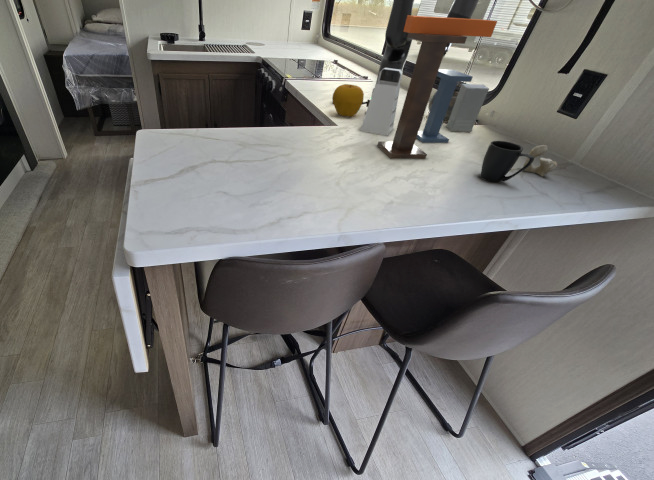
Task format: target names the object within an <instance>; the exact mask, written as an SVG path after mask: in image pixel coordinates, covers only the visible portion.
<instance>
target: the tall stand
mask: <svg viewBox="0 0 654 480" xmlns="http://www.w3.org/2000/svg"><path fill="white" fill-rule="evenodd" d="M407 38H411V39H412V40H414V41H419V42H421V43H420V46H419V50H418V53H417V57H416V60H415V63H414V67H413V72H412V75H411V78H410V80H409V81H410V82H409V85H408V88H407V91H406V95H405V99H404V102H403V106H402V109H401V112H400V115H399V120H398V123H397V126H396V130H395V133H394V137H393V140H392V141H385V140H384V141H382V140H381V141H379V140H378V141H377V147H378V148H379V149H380V150H381V151H382V152H383V153H384V154H385V155H386V156H387V157H388V158H389V159H391V160H392V159H395V160H396V159H397V160H399V159H400V160H426V158H427V153H426V152H425V151H424V150H422V149H421V148H420V147H418V146H417V145H416V144H415V143H416V140H417V138H416V137H417V134H418V131H420V128H421V126H422V125H421V124H422V122H423V118H424V117H425V113H426V110H427V107H428V105H429V102H430V99H431V95H432V91H433V88H434V85H435V82H436V79H437V73H438V70H439V69H440V67H441V64H442V61H443V59H444V57H443V55H444V52H445V49H446V46H447V43H452V44H460V45H461V44H462V45H463V44H464V45H465V44H466V41H467V38H468V36H459V35H440V34H420V33H408V36H407ZM442 58H443V59H442Z"/></svg>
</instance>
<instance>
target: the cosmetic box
mask: <svg viewBox="0 0 654 480" xmlns="http://www.w3.org/2000/svg"><path fill="white" fill-rule="evenodd" d="M489 90H490V88H489V87H488V86H486V85H485V84H480V83H479V84H478V83H477V84H476V83H461V85H460V88H459V91H458V92H459V93H458V96H457V99H456V102H455V104H454V107H453V110H452V112H451V115H450V118H449V120H448V121H447V123H446V128H447V129H448V130H449V131H450V132H465V133H472V131H473V128H474V126H475V124H476V121H477V119H478V116H479V114H480V112H481V109H482V106H483V104H484V102H485V100H486V97H487V95H488V92H489Z"/></svg>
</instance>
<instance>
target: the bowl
mask: <svg viewBox="0 0 654 480" xmlns="http://www.w3.org/2000/svg"><path fill="white" fill-rule="evenodd" d="M436 92H437V90H436V91H435V92H434V94H433V95H432V96H431V97H430V99H429V101H428V105H427V107H428V109H427V110H428V111H429V112H430V110H431V107H432V104H433V101H434V98H435V95H436ZM458 93H459V91H456V90H454V93H453V96H452V98H451V101H450V104H449V107H448V109H447V112H446V115H445V117H444V120H445V121H446V120H448V121H449V118H450V115H451V112H452V110H453V107H454V104H455V102H456V99H457V96H458Z"/></svg>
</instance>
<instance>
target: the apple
mask: <svg viewBox="0 0 654 480" xmlns="http://www.w3.org/2000/svg"><path fill="white" fill-rule="evenodd" d="M364 96H365V93H364V91H363V89H362V87H360V86H358V85H355V84H348V83H343V84H341V85H338V86H337V87H336V88H335V89H334V91H333V93H332V97H331V98H332V100H331V101H332V103H333V104H332V105H333V106H334V109H335V111H336V113H337V114H338V115H339V116H342V117H348V118H352V117H354V116H356V114H357V113H358V112H359V110H360V109H361V108H362V106H363V105H362V102H364V98H365V97H364Z"/></svg>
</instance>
